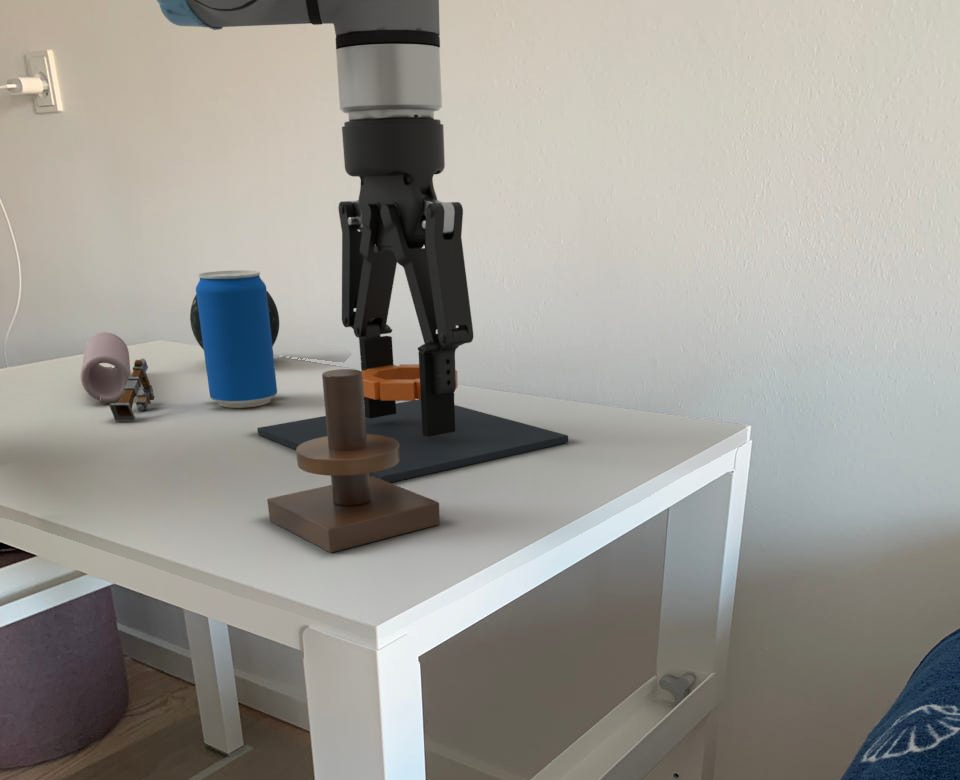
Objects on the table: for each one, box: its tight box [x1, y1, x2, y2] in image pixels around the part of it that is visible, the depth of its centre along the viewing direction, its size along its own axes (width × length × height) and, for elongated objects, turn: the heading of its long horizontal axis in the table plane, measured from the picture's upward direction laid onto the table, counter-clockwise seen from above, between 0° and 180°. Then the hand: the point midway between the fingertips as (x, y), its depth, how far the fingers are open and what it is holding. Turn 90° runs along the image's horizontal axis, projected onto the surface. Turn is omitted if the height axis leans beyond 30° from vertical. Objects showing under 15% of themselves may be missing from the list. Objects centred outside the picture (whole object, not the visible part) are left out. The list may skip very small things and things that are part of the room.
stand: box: [267, 368, 441, 554], centre depth 62 cm, size 8×8×10 cm
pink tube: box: [80, 331, 132, 405], centre depth 106 cm, size 5×5×18 cm
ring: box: [360, 363, 459, 402], centre depth 82 cm, size 8×8×1 cm
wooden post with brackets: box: [108, 358, 156, 422], centre depth 95 cm, size 2×8×4 cm, turn 177°
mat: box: [256, 399, 569, 484], centre depth 84 cm, size 20×18×1 cm
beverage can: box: [195, 269, 278, 409], centre depth 96 cm, size 6×6×12 cm
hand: (408, 423), depth 84 cm, fingers closed on ring, 8 cm apart
